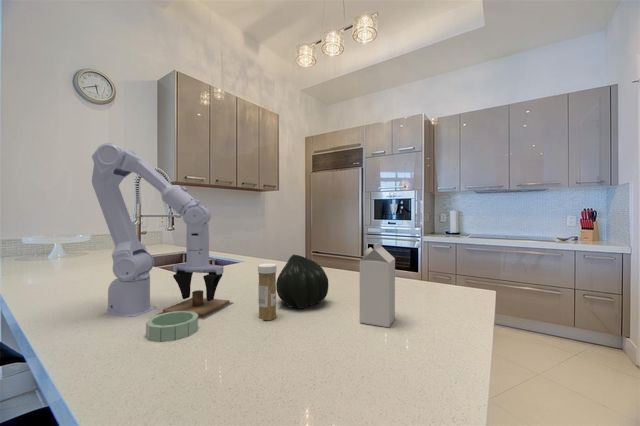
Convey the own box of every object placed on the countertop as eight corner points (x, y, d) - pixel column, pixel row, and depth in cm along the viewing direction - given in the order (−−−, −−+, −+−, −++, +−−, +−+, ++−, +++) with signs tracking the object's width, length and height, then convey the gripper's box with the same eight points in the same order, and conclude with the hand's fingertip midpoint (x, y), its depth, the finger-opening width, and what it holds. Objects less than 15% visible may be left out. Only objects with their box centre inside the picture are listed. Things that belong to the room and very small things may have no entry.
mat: (156, 316, 76) (156, 314, 76) (192, 300, 90) (192, 299, 90) (203, 321, 73) (203, 319, 73) (234, 304, 86) (234, 302, 86)
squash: (343, 288, 82) (322, 245, 90) (296, 299, 74) (277, 250, 82) (323, 312, 91) (304, 270, 99) (279, 324, 83) (263, 277, 91)
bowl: (135, 339, 62) (135, 324, 62) (170, 322, 72) (170, 309, 72) (175, 345, 59) (175, 329, 59) (207, 326, 69) (207, 313, 69)
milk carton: (395, 318, 75) (395, 242, 75) (389, 328, 68) (389, 245, 68) (367, 314, 78) (367, 241, 78) (359, 323, 71) (359, 244, 71)
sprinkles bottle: (279, 318, 74) (279, 264, 74) (262, 322, 72) (262, 266, 72) (271, 313, 78) (271, 262, 78) (255, 316, 76) (255, 263, 76)
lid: (162, 313, 77) (162, 296, 77) (193, 300, 88) (193, 285, 88) (203, 317, 74) (203, 299, 74) (229, 303, 85) (229, 287, 85)
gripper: (229, 248, 83) (229, 296, 83) (185, 247, 87) (185, 293, 87) (214, 251, 76) (214, 304, 76) (167, 250, 80) (167, 300, 80)
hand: (198, 299), depth 81 cm, fingers open, 7 cm apart
